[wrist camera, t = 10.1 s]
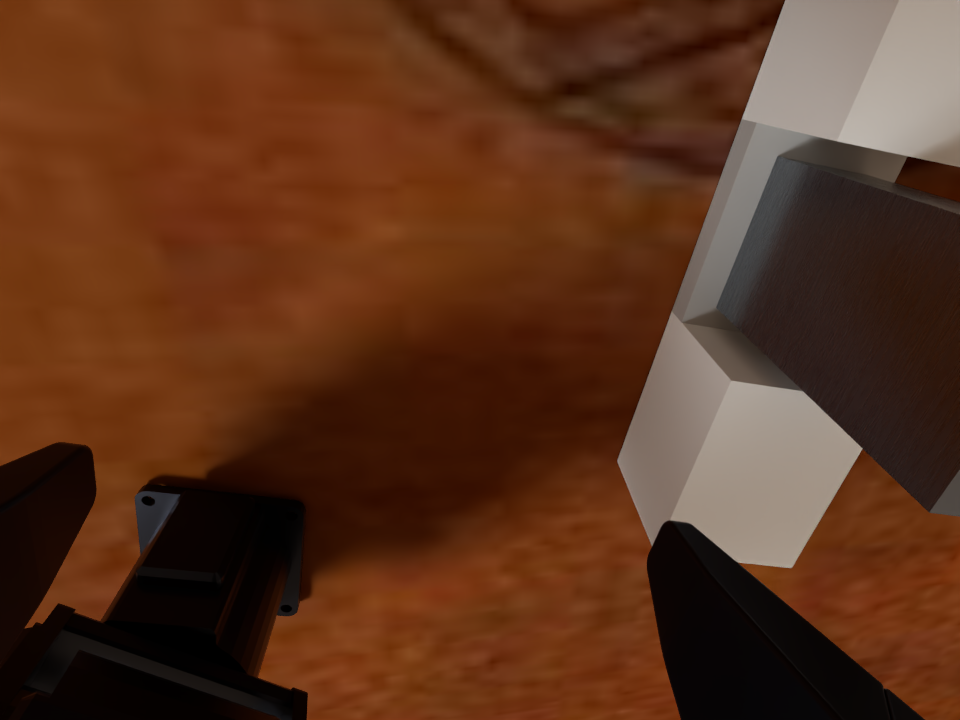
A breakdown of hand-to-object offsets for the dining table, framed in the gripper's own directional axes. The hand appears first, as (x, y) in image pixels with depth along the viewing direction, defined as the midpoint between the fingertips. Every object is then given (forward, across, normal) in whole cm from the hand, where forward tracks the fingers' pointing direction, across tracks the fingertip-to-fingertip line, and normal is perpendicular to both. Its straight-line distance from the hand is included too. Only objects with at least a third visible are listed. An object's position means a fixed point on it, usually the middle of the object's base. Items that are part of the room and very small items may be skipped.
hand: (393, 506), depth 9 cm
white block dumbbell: (+12, -12, -3) cm, 17 cm away
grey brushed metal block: (+11, -12, -3) cm, 16 cm away
